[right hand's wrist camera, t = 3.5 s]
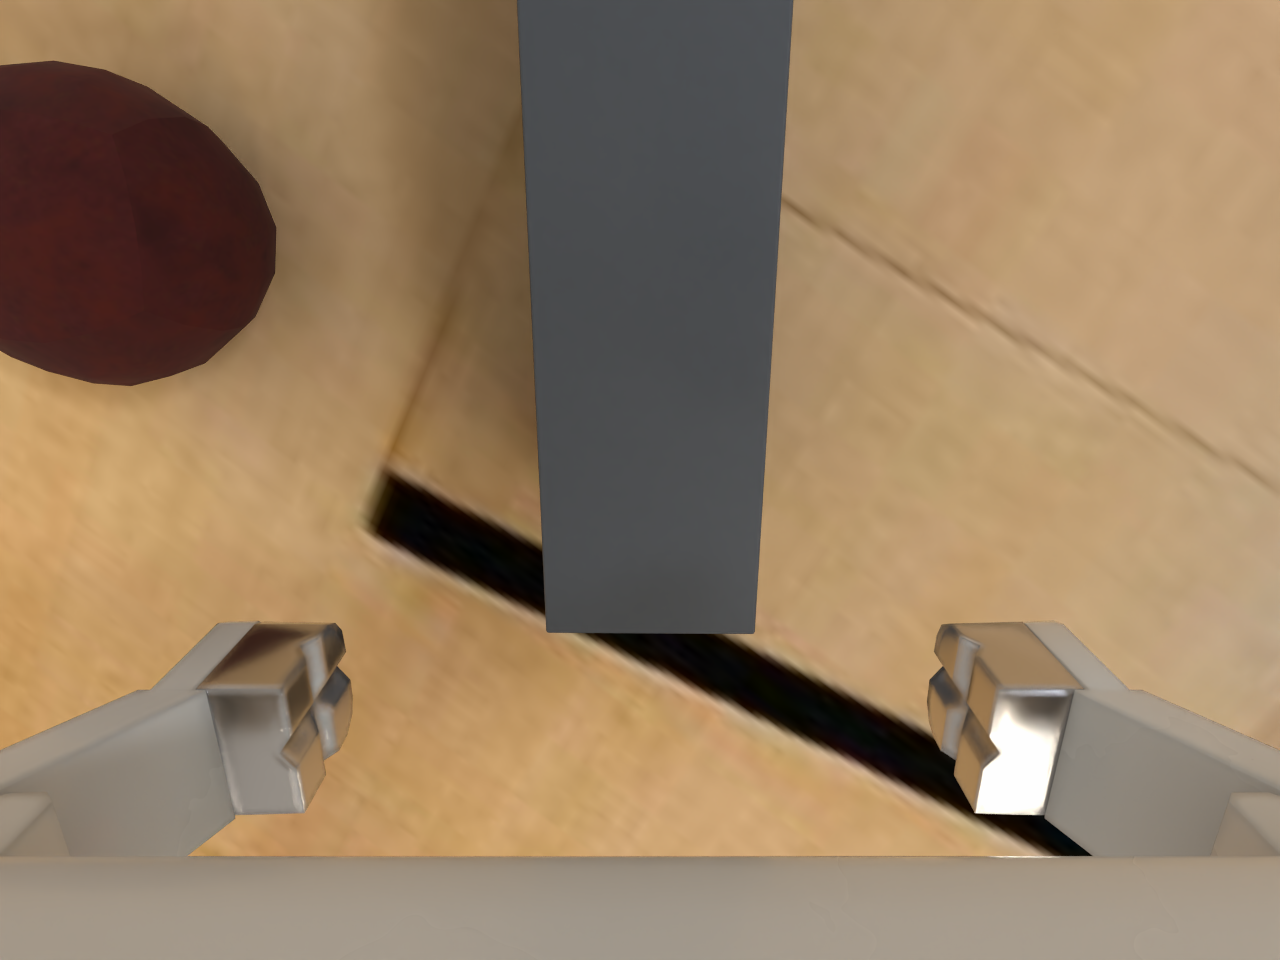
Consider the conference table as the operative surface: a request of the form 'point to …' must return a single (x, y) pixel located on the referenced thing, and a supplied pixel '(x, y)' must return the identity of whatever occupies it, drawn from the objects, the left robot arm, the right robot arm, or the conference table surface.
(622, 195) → the bar
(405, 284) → the conference table surface
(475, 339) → the conference table surface
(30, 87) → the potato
